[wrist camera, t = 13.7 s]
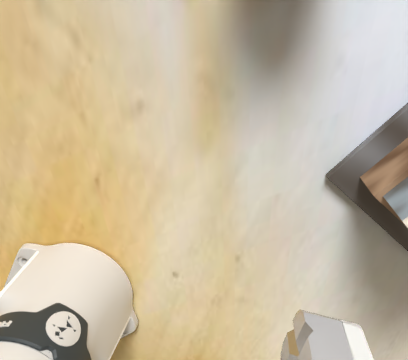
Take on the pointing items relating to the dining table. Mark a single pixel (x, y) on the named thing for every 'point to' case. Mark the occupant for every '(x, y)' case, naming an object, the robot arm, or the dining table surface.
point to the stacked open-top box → (380, 176)
